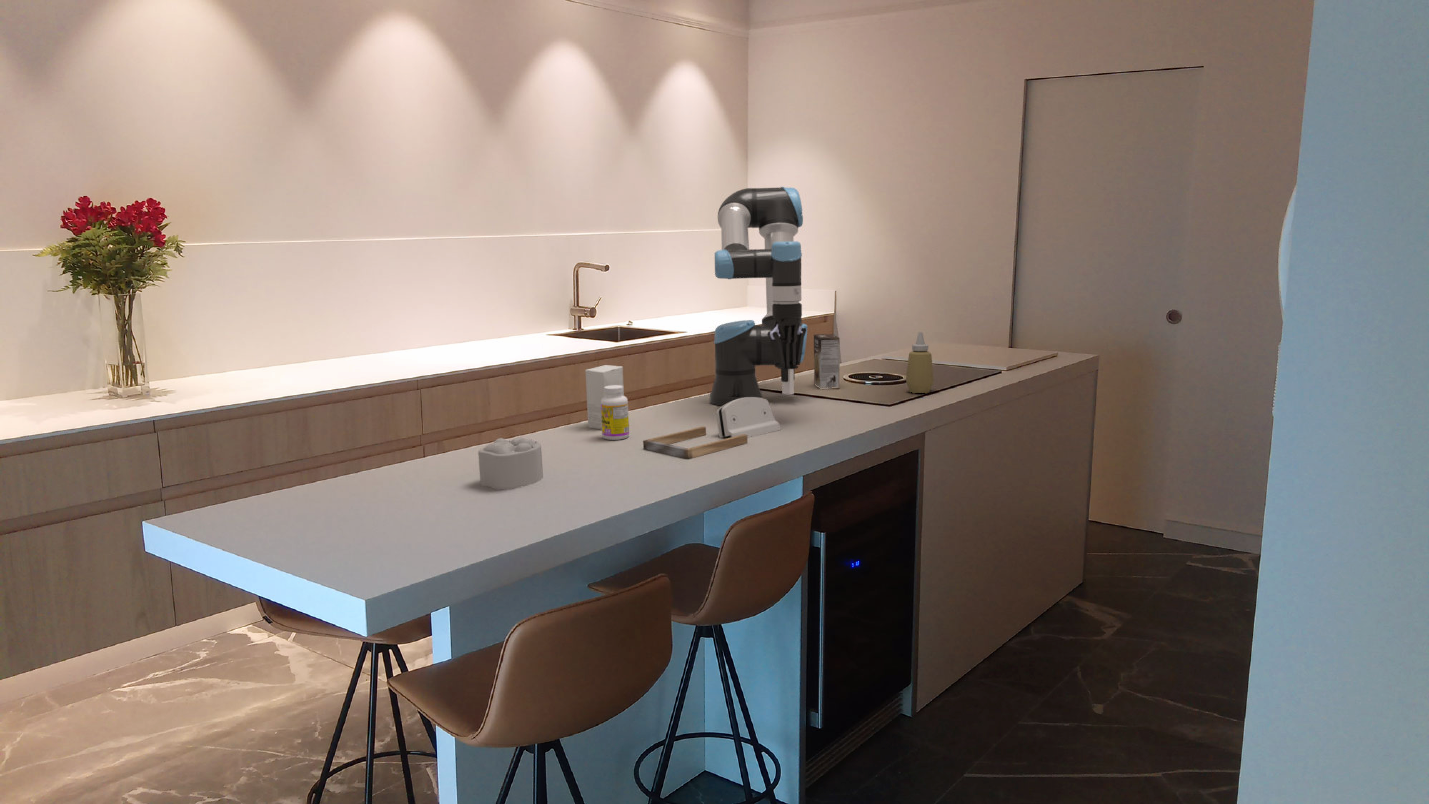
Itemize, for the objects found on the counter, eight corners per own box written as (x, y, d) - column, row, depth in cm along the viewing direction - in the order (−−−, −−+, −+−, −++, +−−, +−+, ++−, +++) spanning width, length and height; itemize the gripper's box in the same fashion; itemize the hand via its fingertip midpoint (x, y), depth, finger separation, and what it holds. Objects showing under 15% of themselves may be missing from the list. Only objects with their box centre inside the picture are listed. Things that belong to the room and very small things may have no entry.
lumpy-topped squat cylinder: (474, 483, 199) (471, 443, 198) (524, 470, 209) (521, 431, 207) (505, 491, 192) (502, 450, 191) (555, 477, 202) (552, 437, 200)
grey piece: (732, 440, 231) (722, 400, 232) (720, 444, 235) (710, 404, 235) (781, 429, 242) (771, 391, 242) (769, 433, 245) (759, 395, 246)
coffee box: (813, 385, 304) (813, 334, 301) (833, 384, 304) (833, 333, 301) (819, 389, 295) (819, 337, 292) (840, 389, 295) (840, 337, 292)
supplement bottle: (599, 436, 239) (596, 385, 237) (624, 433, 242) (622, 383, 239) (607, 441, 233) (604, 390, 231) (632, 438, 236) (630, 387, 233)
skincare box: (608, 422, 256) (605, 364, 253) (627, 424, 252) (624, 366, 249) (586, 428, 249) (583, 368, 246) (605, 430, 245) (603, 370, 242)
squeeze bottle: (912, 389, 292) (913, 330, 289) (937, 391, 287) (938, 331, 284) (901, 393, 286) (901, 333, 282) (926, 395, 281) (927, 334, 277)
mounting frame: (643, 448, 225) (643, 440, 225) (702, 434, 239) (702, 426, 238) (688, 459, 215) (688, 450, 214) (747, 443, 228) (747, 434, 228)
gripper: (781, 304, 237) (782, 398, 241) (814, 301, 246) (815, 391, 250) (758, 303, 242) (760, 395, 246) (792, 300, 251) (793, 389, 255)
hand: (788, 393), depth 248 cm, fingers closed
